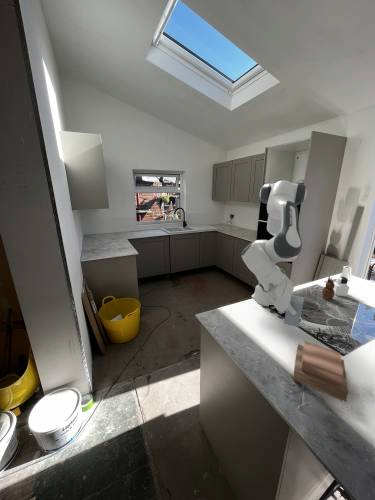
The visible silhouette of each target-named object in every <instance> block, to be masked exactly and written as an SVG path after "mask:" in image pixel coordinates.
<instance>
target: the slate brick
mask: <svg viewBox="0 0 375 500" xmlns="http://www.w3.org/2000/svg"><path fill="white" fill-rule="evenodd" d="M293 295H294V294H293ZM293 295H292V297H291V301H290V304H291V306H292V307H293V308H295V309H296V310H297V314H295V315H292V314H291V312H290V311H288V310H286V311H285V315H284V320H283V324H285V325H288V326H291V327H295V328H298V329H299V326H300V321H301V315H302V312H303V307H304V301H305V298H304V297H300V296H296V295H294V296H293Z"/></svg>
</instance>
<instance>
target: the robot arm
mask: <svg viewBox="0 0 375 500" xmlns="http://www.w3.org/2000/svg"><path fill="white" fill-rule="evenodd" d="M306 187H307V186H306V185H305V183H304V184H303V183H301V182H300V183H299V182H296V183H294V182H291V181H289V180H285V179H284V180H279V181H277V182H274V183H270V182H269V183H265V184H263V185H262V186H261V188H260V191H259V199H260V200H259V201H260V202H261V203H262V204H266V211H267V214H268V216H267V223H266V224H267V225H266V231H267V232H268V233H269V234H270V235H272V236H273V237H272V238H270V239H269V240H268V239H256V240H255V241H252V242H249V244H247V246H246V247H245V248H244V249H243V250H242V251H241V255H240V256H241V259H242V261H243V262H244V264H245V265H246V266H247V268H248V269H249V270H250V272H251V273H253V274H254V276H255V277H256V279H257V281H258V284H257V285H256V286H255V289H254V293H252V295H251V298H252V299H253V300H254V301H255V302H256V303H257V304H259V305H260V306H261V305H262V306H265V307H269V305H274V307H275V309H276V310H277V312H279V313H283V312H286V310H288V311H290V312H291V314H292V315H295V314H297V310H296V309H295V308H293V307H292V306H291V304H290V301H291V297H292V295H293V296H295V295H294V294H293V293H294V290H295V289H294V288H295V287H294V285H293V282H292V281H291V280H290V279H289V277H288V276H287V275H286V274H285V273H286V271H285V270H284V268H280V267H279V266H278V265H276V264H277V263H280V262H294V261H295V260H297V258H298V256H299V255H300V253H301V252H302V249H303V241H302V237H301V233H300V221H299V209H298V207H297V206H298V205H301V204H303V203H304V201H305V200H306V198H307V193H308V190H307V188H306Z"/></svg>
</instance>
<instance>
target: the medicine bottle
mask: <svg viewBox="0 0 375 500" xmlns="http://www.w3.org/2000/svg"><path fill="white" fill-rule="evenodd" d="M335 279H336V280H335V281H333V282H334V288H333V290H334V292H335V294H334V296H337V297H347V296H348V294H349V290H350V286H348V285H347V284H348V281H349V279H348V278H347V277H345V276H342V275H341V276H336V278H335Z"/></svg>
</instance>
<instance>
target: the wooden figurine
mask: <svg viewBox="0 0 375 500" xmlns="http://www.w3.org/2000/svg"><path fill="white" fill-rule="evenodd" d="M332 278H333V277H330V276H328V278H327V282H326V283H325V286H324V287H323V289H321V290H322V291H321V294H322V297H323V298H324V299H325V300H327V301H328V300H331V301H332V299H333V298H334V297H335V295H334V294H335V292H334V290H333V288H334V282H335V281H333V279H332Z"/></svg>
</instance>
